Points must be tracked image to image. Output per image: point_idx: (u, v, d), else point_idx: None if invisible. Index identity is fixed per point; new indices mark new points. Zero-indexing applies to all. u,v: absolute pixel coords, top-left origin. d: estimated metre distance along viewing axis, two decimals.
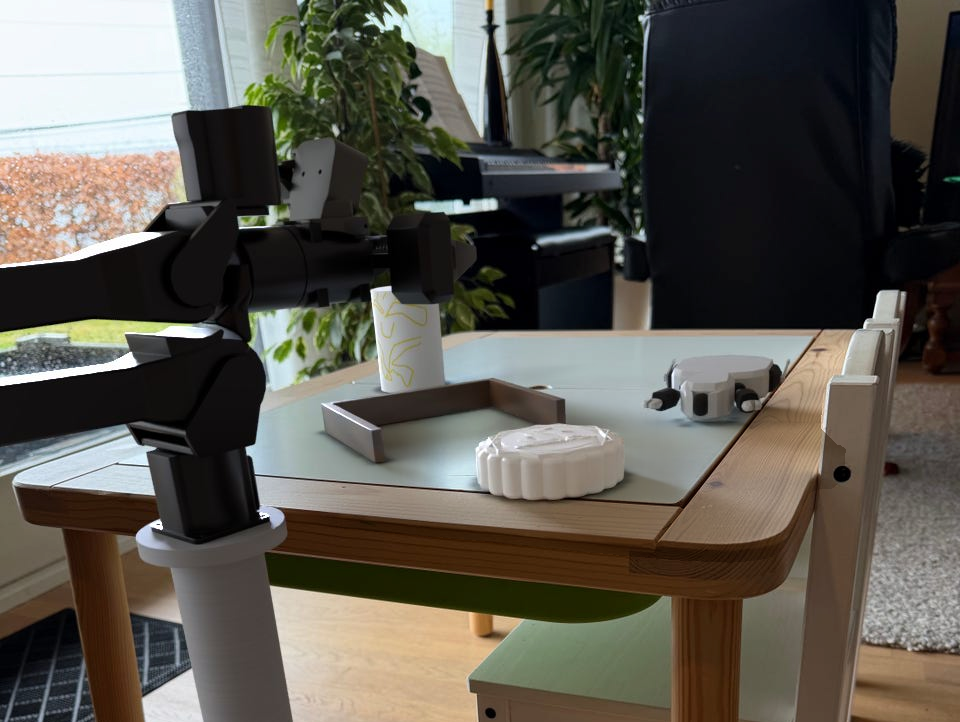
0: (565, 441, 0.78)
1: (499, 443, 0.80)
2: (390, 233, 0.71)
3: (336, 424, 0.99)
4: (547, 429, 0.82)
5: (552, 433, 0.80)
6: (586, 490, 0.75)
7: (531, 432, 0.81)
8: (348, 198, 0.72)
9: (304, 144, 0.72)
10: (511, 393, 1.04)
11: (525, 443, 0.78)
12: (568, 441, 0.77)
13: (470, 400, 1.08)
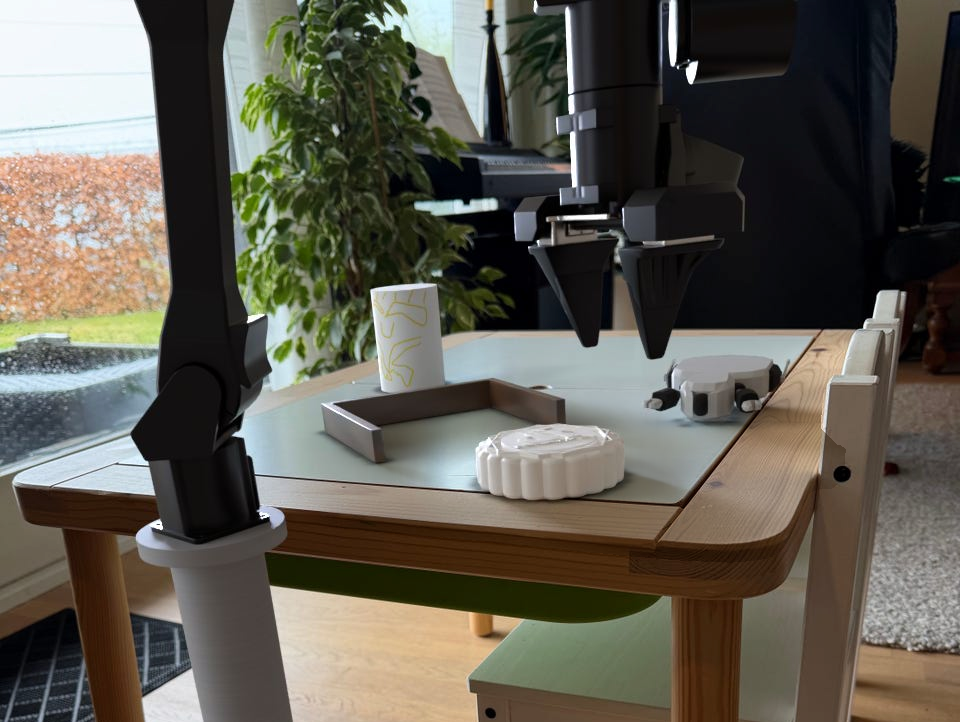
0: (565, 441, 0.78)
1: (499, 443, 0.80)
2: None
3: (336, 424, 0.99)
4: (547, 429, 0.82)
5: (552, 433, 0.80)
6: (586, 490, 0.75)
7: (531, 432, 0.81)
8: (698, 169, 0.62)
9: None
10: (511, 393, 1.04)
11: (525, 443, 0.78)
12: (568, 441, 0.77)
13: (470, 400, 1.08)
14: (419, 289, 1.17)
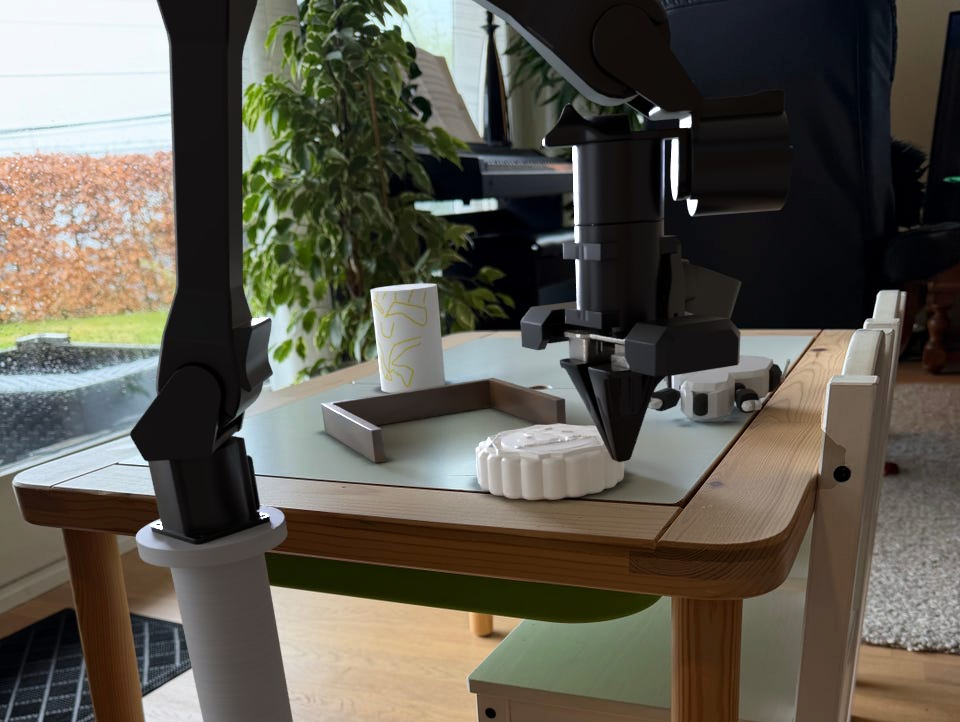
0: (565, 441, 0.78)
1: (499, 443, 0.80)
2: (695, 315, 0.61)
3: (336, 424, 0.99)
4: (547, 429, 0.82)
5: (552, 433, 0.80)
6: (586, 490, 0.75)
7: (531, 432, 0.81)
8: (697, 295, 0.65)
9: None
10: (511, 393, 1.04)
11: (525, 443, 0.78)
12: (568, 441, 0.77)
13: (470, 400, 1.08)
14: (419, 289, 1.17)
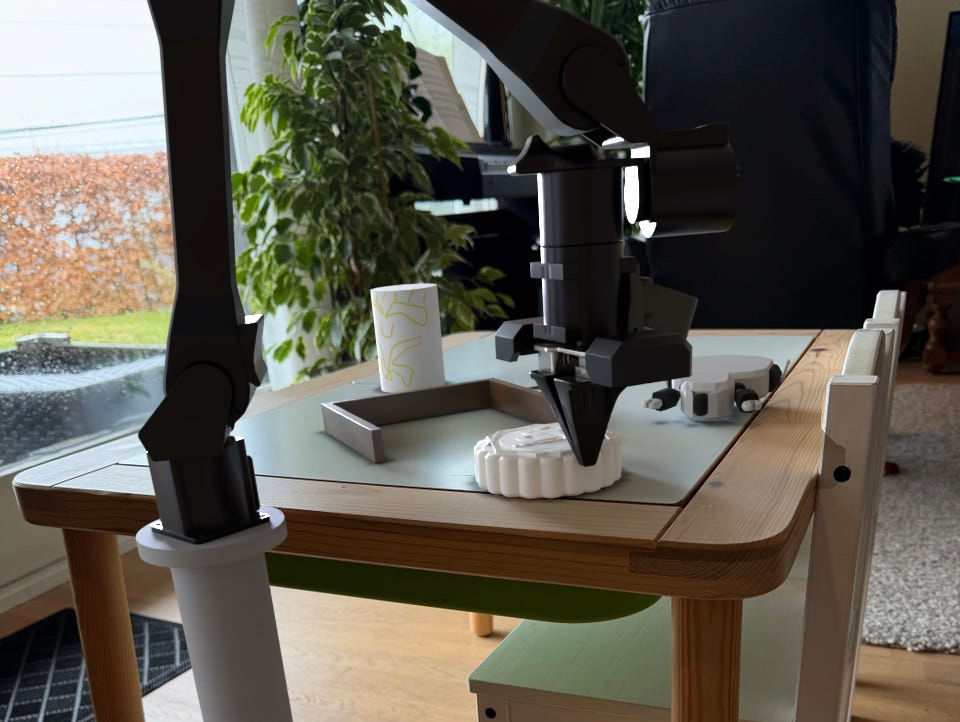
0: (563, 440, 0.78)
1: (497, 442, 0.80)
2: (651, 330, 0.66)
3: (336, 424, 0.99)
4: (545, 428, 0.82)
5: (550, 432, 0.80)
6: (584, 489, 0.76)
7: (529, 431, 0.81)
8: (655, 311, 0.69)
9: None
10: (511, 393, 1.04)
11: (523, 442, 0.78)
12: (566, 440, 0.78)
13: (470, 400, 1.08)
14: (419, 289, 1.17)
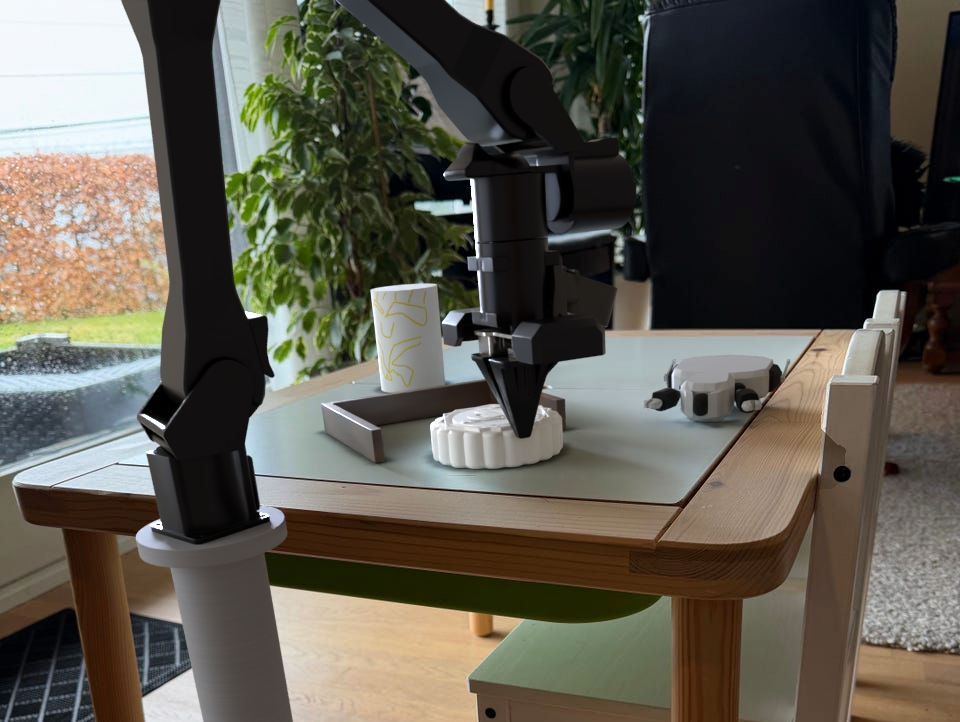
0: None
1: (451, 419, 0.90)
2: (571, 315, 0.75)
3: (336, 424, 0.99)
4: (497, 408, 0.91)
5: (499, 411, 0.90)
6: (522, 461, 0.85)
7: (481, 410, 0.90)
8: (578, 299, 0.78)
9: None
10: None
11: (472, 419, 0.88)
12: None
13: (470, 400, 1.08)
14: (419, 289, 1.17)
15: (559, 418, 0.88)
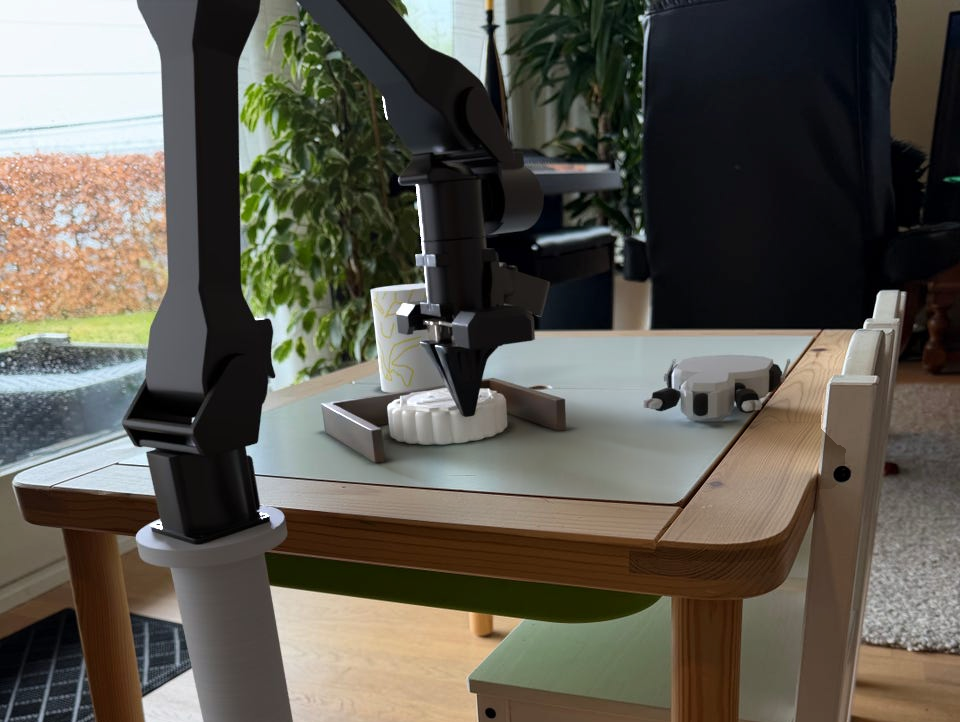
0: None
1: (407, 401, 0.99)
2: (505, 305, 0.85)
3: (336, 424, 0.99)
4: None
5: None
6: (468, 437, 0.95)
7: (434, 393, 1.00)
8: (514, 291, 0.88)
9: None
10: (511, 393, 1.04)
11: (425, 400, 0.97)
12: None
13: None
14: (419, 289, 1.17)
15: (503, 400, 0.97)
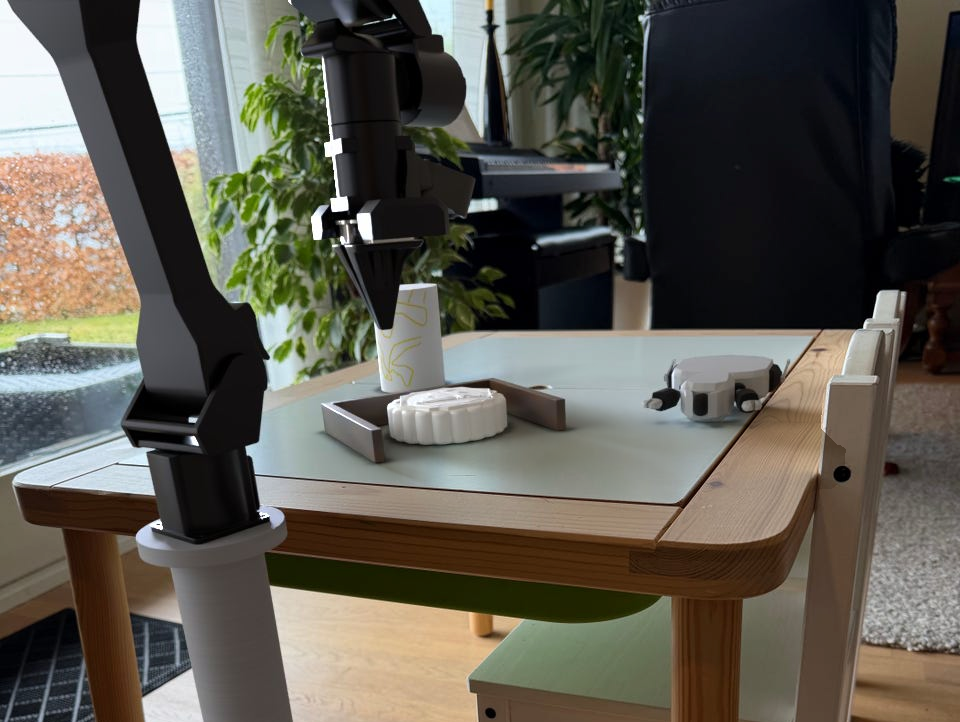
0: (456, 399, 0.97)
1: (407, 401, 0.99)
2: None
3: (336, 424, 0.99)
4: (448, 390, 1.01)
5: (450, 393, 0.99)
6: (468, 437, 0.95)
7: (434, 392, 1.00)
8: (433, 186, 0.79)
9: None
10: (511, 393, 1.04)
11: (424, 400, 0.97)
12: (458, 399, 0.97)
13: None
14: (419, 289, 1.17)
15: (503, 399, 0.97)
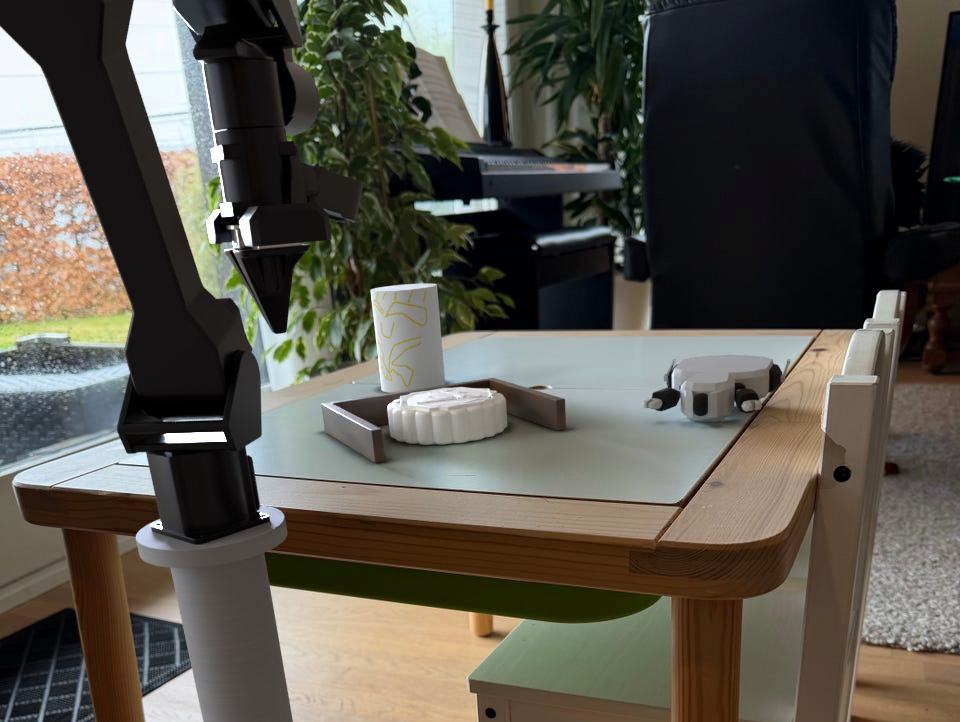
0: (456, 399, 0.97)
1: (407, 401, 0.99)
2: None
3: (336, 424, 0.99)
4: (448, 390, 1.01)
5: (450, 393, 0.99)
6: (468, 437, 0.95)
7: (434, 392, 1.00)
8: (319, 191, 0.80)
9: None
10: (511, 393, 1.04)
11: (425, 400, 0.97)
12: (458, 399, 0.97)
13: None
14: (419, 289, 1.17)
15: (503, 399, 0.97)
